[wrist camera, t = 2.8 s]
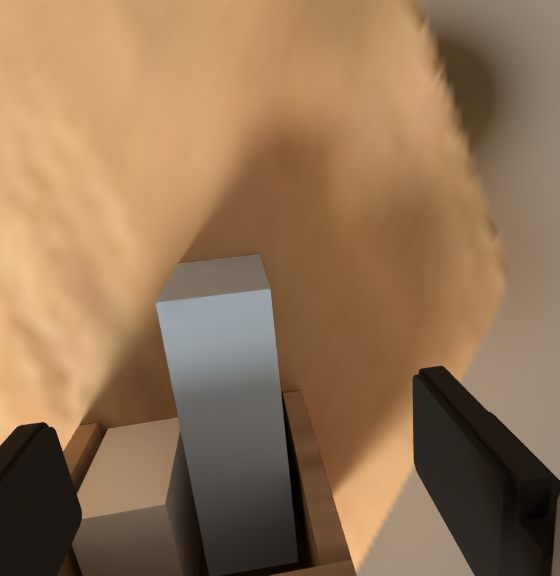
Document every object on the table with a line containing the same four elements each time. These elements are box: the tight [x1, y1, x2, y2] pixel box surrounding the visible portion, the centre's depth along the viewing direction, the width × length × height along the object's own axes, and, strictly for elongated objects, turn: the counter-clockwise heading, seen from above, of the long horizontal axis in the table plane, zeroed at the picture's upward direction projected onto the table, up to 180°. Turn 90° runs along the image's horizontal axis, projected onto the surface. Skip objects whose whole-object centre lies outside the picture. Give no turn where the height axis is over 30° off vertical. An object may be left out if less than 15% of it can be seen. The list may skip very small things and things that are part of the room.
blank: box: [156, 254, 298, 576], centre depth 19 cm, size 13×4×6 cm, turn 5°
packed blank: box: [72, 417, 202, 576], centre depth 20 cm, size 7×4×6 cm, turn 6°
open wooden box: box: [57, 390, 357, 576], centre depth 18 cm, size 9×12×11 cm
